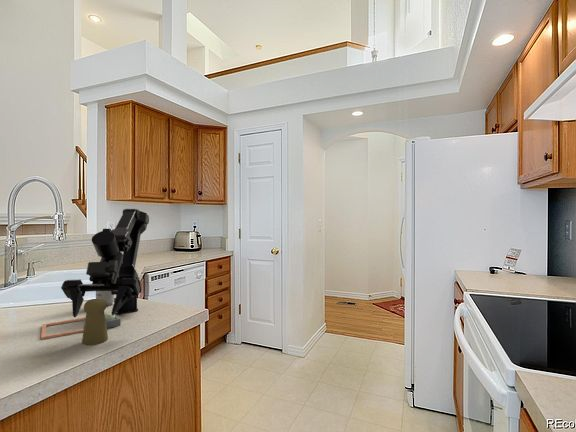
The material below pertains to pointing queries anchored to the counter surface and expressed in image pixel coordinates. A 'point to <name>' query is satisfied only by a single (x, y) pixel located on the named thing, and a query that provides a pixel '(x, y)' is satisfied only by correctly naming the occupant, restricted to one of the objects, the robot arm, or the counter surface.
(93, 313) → the olive pepper mill
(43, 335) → the terracotta outline
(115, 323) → the button box
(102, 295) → the energy drink can
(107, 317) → the button
